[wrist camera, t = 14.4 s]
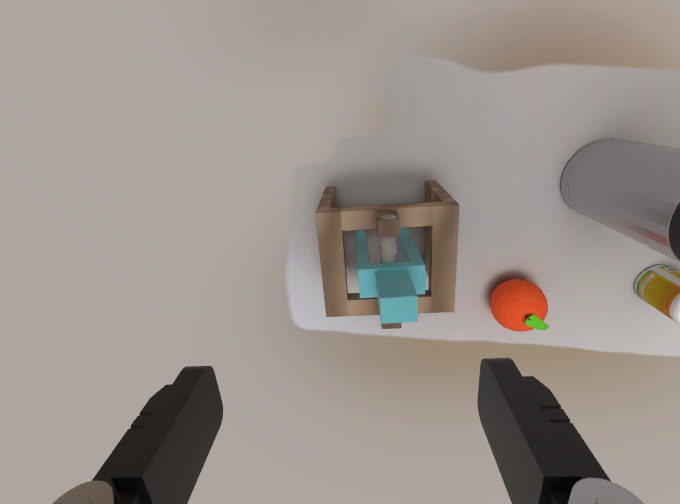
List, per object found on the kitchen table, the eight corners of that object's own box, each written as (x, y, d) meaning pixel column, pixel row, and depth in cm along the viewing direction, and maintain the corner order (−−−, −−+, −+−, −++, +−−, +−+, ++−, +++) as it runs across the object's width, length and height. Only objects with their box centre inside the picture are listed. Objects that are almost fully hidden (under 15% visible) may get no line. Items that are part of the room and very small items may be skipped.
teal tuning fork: (406, 227, 44) (437, 291, 29) (407, 250, 45) (437, 323, 30) (355, 230, 44) (359, 296, 29) (357, 253, 45) (362, 328, 30)
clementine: (550, 289, 51) (578, 316, 45) (516, 324, 54) (538, 355, 47) (505, 261, 50) (527, 285, 43) (473, 299, 52) (489, 327, 46)
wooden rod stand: (435, 180, 46) (467, 213, 32) (433, 266, 51) (461, 327, 37) (325, 187, 47) (311, 222, 33) (333, 270, 52) (323, 332, 38)
